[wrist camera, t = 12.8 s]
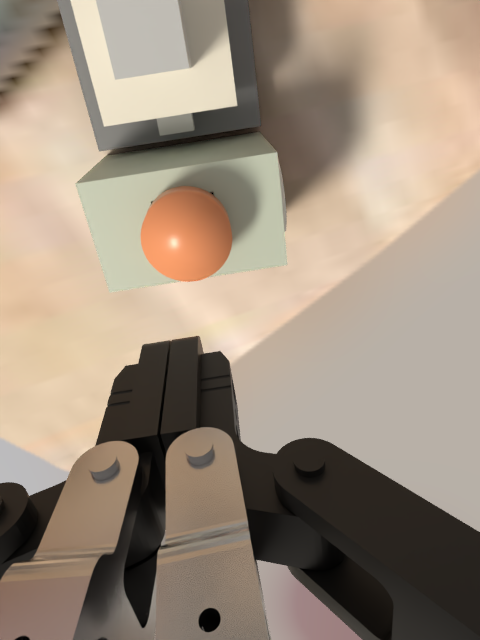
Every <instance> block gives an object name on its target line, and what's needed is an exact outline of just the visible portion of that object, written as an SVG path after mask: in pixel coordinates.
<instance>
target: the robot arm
mask: <svg viewBox="0 0 480 640" xmlns="http://www.w3.org/2000/svg"><path fill="white" fill-rule="evenodd" d="M107 405H108V407H106V411H105V414H104V418H103V421H102V425H101V428H100V432H99V435H98V439H97V442H96V445H95V447H93V448H91V449H89V450H88V451H86V452H85V453H84V454H83V455H82V456H80V458H79V459H78V460H77V461H76V462H75V464H74V465H73V467H72V469H71V471H70V473H69V476H68V478H67V480H66V481H64V482H62V483H60V484H58V485H55V486H53V487H50V488H48V489H46V490H43V491H40V492H38V493H36V494H33V495H31V496H29V495H28V493H27V491H26V489H25V488H24V487H23V486H22V485H20V484H17V483H9V482H8V483H1V484H0V640H154V638H155V640H271V636H270V631H269V625H268V620H267V615H266V610H265V604H264V599H263V593H262V588H261V583H260V577H259V572H258V566H257V561H256V560H261V561H266V562H271V563H276V564H282V565H287V566H288V568H289V570H290V572H291V573H292V575H294V577H295V578H296V579H297V580H299V581H300V582H301V583H302V584H303V585H304V586H305V587H306V588H307V589H308V590H309V591H310V592H311V593H313V594H314V595H315V596H316V597H317V598H318V599H319V600H320V601H321V602H322V603H323V604H325V605H326V606H327V607H328V608H329V609H330V610H331V611H332V612H333V613H334V614H335V615H337V616H338V617H339V618H340V619H341V620H342V621H343V622H344V623H345V624H346V625H348V627H350V628H351V629H352V630H353V631H354V632H355V633H356V634H357V635H358V636H359V637H360V638H361V639H363V640H480V532H478V531H476V530H475V529H473V528H472V527H470V526H468V525H467V524H465V523H463V522H462V521H460V520H458V519H456V518H455V517H453V516H451V515H450V514H448V513H446V512H445V511H443V510H442V509H440V508H438V507H437V506H435V505H433V504H432V503H430V502H428V501H427V500H425V499H423V498H422V497H420V496H418V495H416V494H415V493H413V492H412V491H410V490H408V489H407V488H405V487H403V486H402V485H400V484H398V483H397V482H395V481H393V480H392V479H390V478H388V477H387V476H385V475H383V474H382V473H380V472H378V471H377V470H375V469H373V468H371V467H370V466H368V465H366V464H365V463H363V462H362V461H360V460H358V459H357V458H355V457H353V456H352V455H350V454H348V453H347V452H345V451H343V450H342V449H340V448H338V447H337V446H335V445H333V444H332V443H330V442H327V441H324V440H321V439H316V438H304V439H298V440H295V441H292V442H290V443H288V444H286V445H285V446H283V447H282V448H281V449H280V450H279V451H278V453H277V454H272V453H264V452H259V451H256V450H253V449H251V448H249V447H247V446H246V445H244V444H243V443H242V442H241V439H240V429H239V420H238V408H237V402H236V396H235V390H234V385H233V380H232V374H231V369H230V363H229V361H228V359H227V358H226V357H225V356H224V355H223V354H222V352H221V351H218V352H212V353H205V354H204V353H203V348H202V344H201V340H200V337H199V336H195V337H188V338H182V339H175V340H172V341H163V342H157V343H150V344H144V345H143V346H142V350H141V354H140V359H139V363H138V364H135V365H128V366H125V367H124V369H123V370H122V371H121V372H120V373H119V374H118V376H117V377H116V378H115V379H114V383H113V386H112V390H111V396H110V397H109V400H108V404H107ZM165 530H166V532H165ZM155 628H156V631H155ZM155 634H156V635H155Z"/></svg>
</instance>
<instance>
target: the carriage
mask: <svg viewBox="0 0 480 640" xmlns="http://www.w3.org/2000/svg"><path fill="white" fill-rule="evenodd" d="M70 1H71V5H72V8H73V12H74V16H75V20H76V23H77V27H78V31H79V35H80V38H81V42H82V46H83V50H84V53H85V57H86V61H87V65H88V69H89V72H90V76H91V80H92V84H93V87H94V91H95V95H96V99H97V102H98V106H99V110H100V114H101V117H102V121H103V125H104V127H105V126H112V125H118V124H124V123H131V122H137V121H144V120H150V119H156V118H163V117H169V116H175V115H182V114H188V113H195V112H201V111H207V110H214V109H220V108H226V107H233V106H237V99H236V91H235V83H234V75H233V67H232V59H231V51H230V44H229V36H228V28H227V20H226V12H225V4H224V0H70Z"/></svg>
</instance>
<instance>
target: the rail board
mask: <svg viewBox="0 0 480 640" xmlns="http://www.w3.org/2000/svg"><path fill="white" fill-rule="evenodd" d="M57 2H58V5H59V9H60V13H61V16H62V20H63V23H64V27H65V30H66V34H67V38H68V41H69V45H70V48H71V52H72V56H73V59H74V63H75V66H76V70H77V74H78V77H79V81H80V84H81V88H82V92H83V95H84V99H85V102H86V106H87V109H88V113H89V117H90V120H91V124H92V127H93V131H94V135H95V138H96V142H97V145H98V149H99V151H105V150H112V149H118V148H124V147H131V146H137V145H143V144H150V143H156V142H163V141H169V140H175V139H182V138H188V137H194V136H201V135H207V134H214V133H220V132H226V131H233V130H239V129H246V128H252V127H258V126H261V120H260V110H259V101H258V91H257V82H256V72H255V62H254V53H253V43H252V34H251V24H250V14H249V5H248V0H224V4H225V12H226V20H227V28H228V36H229V44H230V51H231V59H232V67H233V75H234V83H235V91H236V99H237V106H233V107H226V108H220V109H214V110H207V111H201V112H195V113H188V114H182V115H175V116H169V117H163V118H156V119H150V120H144V121H137V122H131V123H124V124H118V125H112V126H105V127H104V125H103V121H102V117H101V114H100V110H99V106H98V102H97V99H96V95H95V91H94V87H93V84H92V80H91V76H90V72H89V69H88V65H87V61H86V57H85V53H84V50H83V46H82V42H81V38H80V35H79V31H78V27H77V23H76V20H75V16H74V12H73V8H72V5H71V1H70V0H57Z"/></svg>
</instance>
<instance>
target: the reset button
mask: <svg viewBox="0 0 480 640" xmlns="http://www.w3.org/2000/svg"><path fill="white" fill-rule="evenodd" d="M141 245H142V249H143V252H144V254H145V256H146V258H147V260H148V261H149V263H150V264H151V265H152V266H153V267H154V268H155V269H156V270H157V271H158V272H160V273H161V274H163V275H165V276H166V277H169V278H171V279H174V280H178V281H187V282H190V281H198V280H202V279H205V278H207V277H209V276H211V275H213V274H214V273H216V272H217V271H218V270H219V269H220V268H221V267H222V266H223V265H224V263H225V262H226V260H227V259H228V256H229V254H230V251H231V247H232V231H231V225H230V220H229V216H228V214H227V211H226V209H225V208H224V206H223V205H222V203H221V202H220V201H219V200H218V199H217V198H216V197H215V196H214V195H212V194H211V193H209V192H208V191H205V190H203V189H201V188H197V187H192V186H179V187H175V188H172V189H169V190H167V191H165V192H163V193H162V194H160V195H159V196H158V197H157V198H156V199H155V200H154V201H153V202H152V204H151V205H150V207H149V209H148V211H147V213H146V216H145V219H144V221H143V224H142V228H141Z"/></svg>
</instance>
